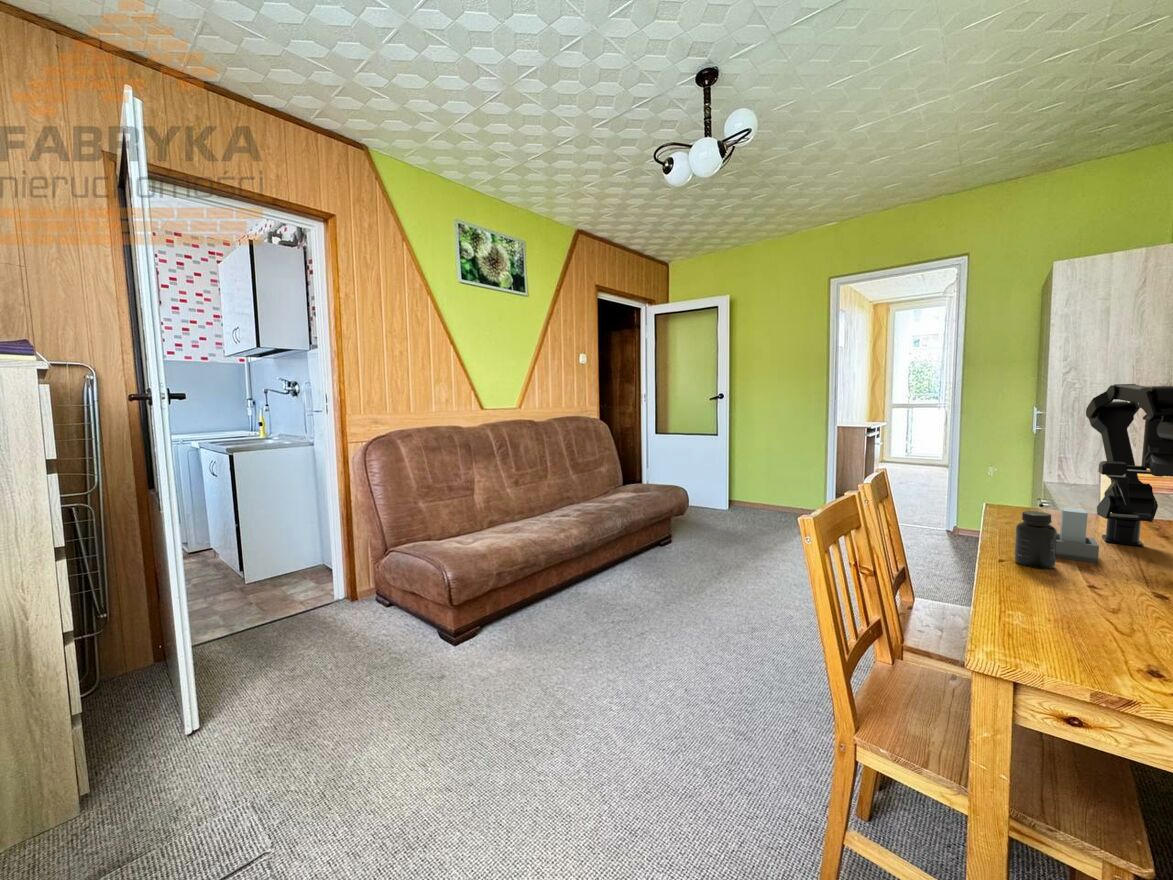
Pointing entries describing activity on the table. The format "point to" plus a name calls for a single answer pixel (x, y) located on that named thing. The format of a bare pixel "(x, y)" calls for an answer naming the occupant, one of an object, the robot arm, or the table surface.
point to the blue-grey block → (1073, 525)
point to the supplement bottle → (1035, 541)
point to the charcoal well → (1078, 550)
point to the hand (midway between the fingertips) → (1156, 507)
